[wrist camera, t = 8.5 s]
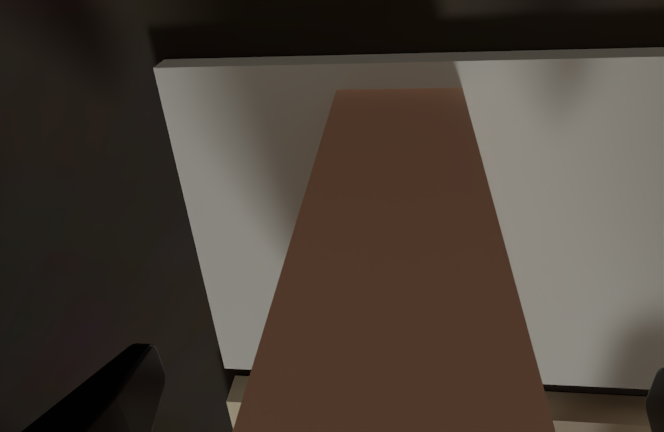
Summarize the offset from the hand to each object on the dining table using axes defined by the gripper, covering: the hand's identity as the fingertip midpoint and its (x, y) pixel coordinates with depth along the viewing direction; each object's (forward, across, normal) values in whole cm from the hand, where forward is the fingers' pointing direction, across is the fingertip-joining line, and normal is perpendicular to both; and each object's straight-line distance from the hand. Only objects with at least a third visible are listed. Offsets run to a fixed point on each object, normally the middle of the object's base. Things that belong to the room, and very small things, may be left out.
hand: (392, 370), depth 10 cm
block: (+4, 0, 0) cm, 4 cm away
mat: (+4, -2, 0) cm, 5 cm away
